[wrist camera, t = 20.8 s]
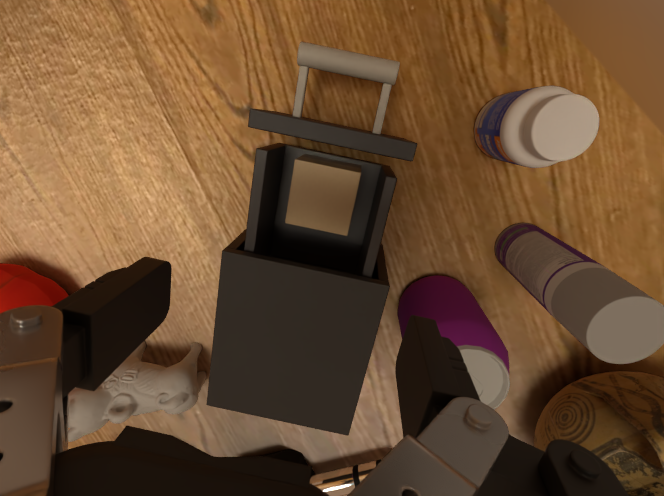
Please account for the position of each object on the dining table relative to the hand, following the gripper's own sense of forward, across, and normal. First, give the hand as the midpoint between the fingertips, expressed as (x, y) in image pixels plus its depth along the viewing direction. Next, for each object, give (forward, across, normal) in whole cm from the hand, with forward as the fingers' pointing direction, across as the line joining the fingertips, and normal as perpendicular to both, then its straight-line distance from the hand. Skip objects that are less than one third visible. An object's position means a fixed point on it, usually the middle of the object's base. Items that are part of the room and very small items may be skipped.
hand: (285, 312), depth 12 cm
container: (+24, -18, +2) cm, 30 cm away
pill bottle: (+24, -13, -8) cm, 29 cm away
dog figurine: (+24, +16, +24) cm, 37 cm away
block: (+22, +1, 0) cm, 22 cm away
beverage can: (+24, -12, +10) cm, 29 cm away
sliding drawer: (+23, +1, -1) cm, 23 cm away
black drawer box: (+24, +1, +12) cm, 26 cm away
